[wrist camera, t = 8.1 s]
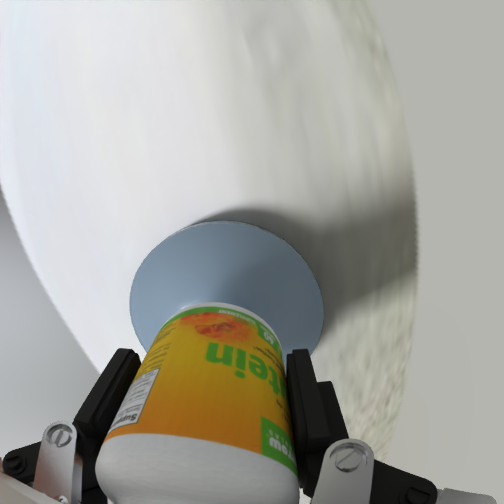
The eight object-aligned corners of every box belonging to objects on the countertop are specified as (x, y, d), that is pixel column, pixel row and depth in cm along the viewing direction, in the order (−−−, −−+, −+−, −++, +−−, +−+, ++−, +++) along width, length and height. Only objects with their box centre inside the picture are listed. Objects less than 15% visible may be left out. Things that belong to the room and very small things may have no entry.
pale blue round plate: (125, 225, 14) (113, 231, 12) (320, 214, 14) (327, 219, 12) (159, 374, 17) (153, 389, 15) (312, 373, 17) (316, 388, 15)
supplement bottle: (308, 347, 11) (362, 578, 2) (230, 410, 13) (215, 591, 3) (205, 270, 10) (95, 562, 1) (137, 353, 12) (48, 539, 2)
